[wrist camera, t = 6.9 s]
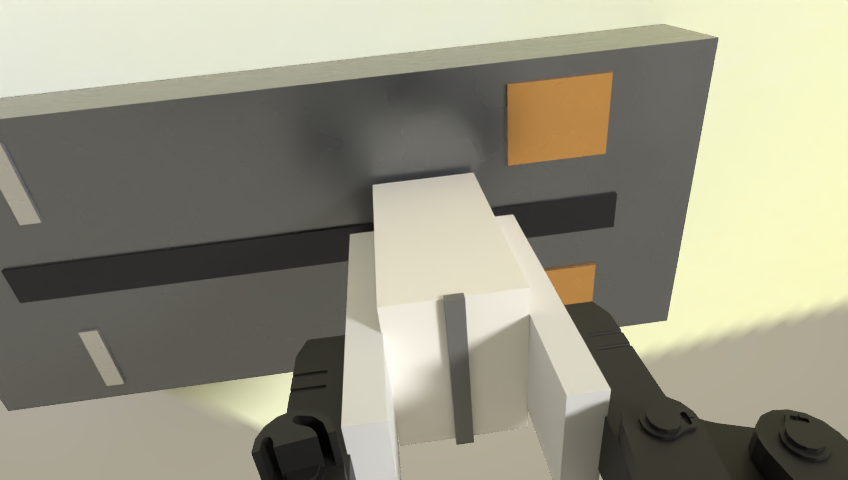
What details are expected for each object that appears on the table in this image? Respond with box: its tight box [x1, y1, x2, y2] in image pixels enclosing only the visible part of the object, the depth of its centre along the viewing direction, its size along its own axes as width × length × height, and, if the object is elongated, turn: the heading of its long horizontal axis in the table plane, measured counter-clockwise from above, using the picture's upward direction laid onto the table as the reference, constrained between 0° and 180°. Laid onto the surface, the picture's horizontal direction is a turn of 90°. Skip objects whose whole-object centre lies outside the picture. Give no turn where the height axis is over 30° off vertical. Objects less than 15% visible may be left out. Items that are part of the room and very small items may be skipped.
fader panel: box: [0, 24, 718, 411], centre depth 18 cm, size 10×24×3 cm, turn 96°
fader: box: [373, 173, 530, 446], centre depth 14 cm, size 4×3×6 cm
